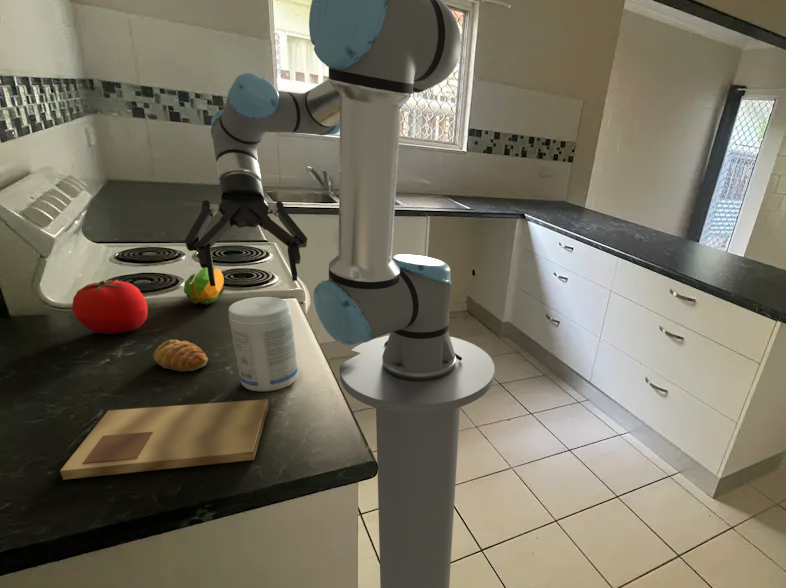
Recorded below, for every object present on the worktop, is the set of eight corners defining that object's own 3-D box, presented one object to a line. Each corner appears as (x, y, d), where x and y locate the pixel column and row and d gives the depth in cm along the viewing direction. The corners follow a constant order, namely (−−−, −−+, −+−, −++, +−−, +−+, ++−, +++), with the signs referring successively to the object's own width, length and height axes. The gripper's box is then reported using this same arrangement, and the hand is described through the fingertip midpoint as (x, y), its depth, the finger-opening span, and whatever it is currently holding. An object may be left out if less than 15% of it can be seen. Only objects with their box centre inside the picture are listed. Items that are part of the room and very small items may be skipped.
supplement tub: (299, 366, 92) (291, 294, 86) (298, 390, 84) (290, 314, 78) (243, 370, 89) (231, 296, 83) (236, 396, 81) (223, 317, 75)
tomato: (161, 320, 105) (150, 272, 101) (140, 342, 95) (127, 289, 91) (96, 321, 102) (82, 271, 97) (68, 344, 92) (50, 289, 87)
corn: (176, 279, 107) (198, 256, 125) (179, 310, 110) (201, 283, 127) (213, 281, 110) (230, 258, 127) (216, 311, 113) (232, 285, 130)
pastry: (219, 363, 90) (216, 345, 89) (185, 378, 85) (181, 359, 83) (184, 351, 93) (180, 333, 92) (149, 365, 88) (144, 346, 86)
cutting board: (268, 406, 79) (267, 398, 78) (254, 460, 67) (252, 450, 66) (110, 418, 72) (107, 409, 72) (62, 480, 60) (59, 470, 60)
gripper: (307, 196, 102) (324, 284, 96) (167, 194, 90) (177, 294, 85) (309, 174, 96) (327, 266, 90) (159, 168, 84) (169, 274, 78)
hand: (255, 280), depth 87 cm, fingers open, 13 cm apart
